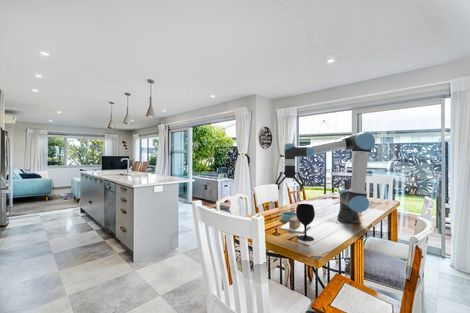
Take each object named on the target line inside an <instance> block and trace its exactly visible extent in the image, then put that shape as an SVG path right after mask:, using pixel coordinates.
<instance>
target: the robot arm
mask: <svg viewBox="0 0 470 313" xmlns="http://www.w3.org/2000/svg"><path fill="white" fill-rule="evenodd" d="M375 145H376V138H375V137H374V135H373V134H372V133H370V132H368V131H364V132H363V131H362V132H361V131H360V132H359V133H354V134H351V135H349V136H348V135H347V136H345V137H341V138H340V139H335V140H330V141H325V142H320V143H315V144H314V143H312V144H309V145H303V146H301V145H296V143H294V142H293V143H289V142H288V143H285V144H284V150H283V151H284V155H283V156H284V159H283V160H284V164H283V165H284V166H283V167H284V171H279V176H278V177H277V179H276V181H275V184H274V185H276V186H277V189H278V190H277V191H278V192H279V193H278V194H279V196H280V195H282V185H281V184H282V183H283V182H284V181H285V180H286V178H287V179H294V181H295V182H296V183H297V184H298V185H299V186H298V196H299V197H300V196H301V192H302V191H303V187H304V186H305V182H304V180H303V178H302V175H301V172H300V171H298V172H297V171H296V158H300V157H301V158H303V157H305V158H306V157H307V158H309V157H310V158H311V157H313V155H316V154H317V155H318V154H324V153H328V152H329V153H330V152H334V151H341V150H342V151H348V150H351V152H352V153H353V161H352V171H351V179H350V180H351V181H350V182H351V183H350V188H349V189H340V190H339V211H338V214H337V216H336V218H337V221H338V222H342V223H345V224H346V223H347V224H359V223H360V222H361V218H360V215H359V213H363V212H365V211H367V210H368V209H369V206H370V201H369V199H368V192H367V191H366V182H367V181H366V179H367V170H368V160H369V155H370V154H372V148H373V147H374V146H375ZM283 175H284V176H283ZM282 176H283V177H282ZM297 176H298V178H299V179H298V178H297ZM281 178H282V179H281ZM280 179H281V180H280Z"/></svg>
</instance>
